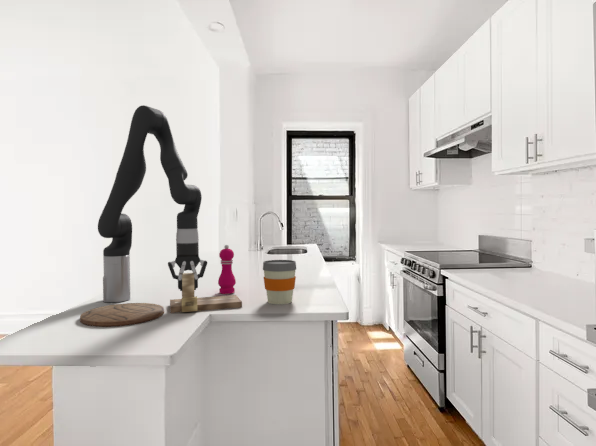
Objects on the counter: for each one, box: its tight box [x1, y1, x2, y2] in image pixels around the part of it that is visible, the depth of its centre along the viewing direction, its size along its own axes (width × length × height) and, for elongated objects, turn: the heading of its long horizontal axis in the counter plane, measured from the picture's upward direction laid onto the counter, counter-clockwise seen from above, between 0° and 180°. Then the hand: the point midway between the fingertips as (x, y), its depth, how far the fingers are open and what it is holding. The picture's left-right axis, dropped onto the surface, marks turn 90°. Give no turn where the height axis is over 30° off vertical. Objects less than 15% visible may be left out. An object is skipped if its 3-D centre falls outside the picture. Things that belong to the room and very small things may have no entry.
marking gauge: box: [181, 272, 198, 313], centre depth 143 cm, size 5×13×11 cm, turn 18°
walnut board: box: [169, 294, 243, 314], centre depth 147 cm, size 24×12×2 cm, turn 108°
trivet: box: [79, 302, 165, 328], centre depth 133 cm, size 25×25×2 cm
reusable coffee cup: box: [262, 259, 297, 305], centre depth 153 cm, size 12×13×15 cm
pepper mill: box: [217, 244, 237, 295], centre depth 171 cm, size 7×7×20 cm
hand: (188, 289), depth 145 cm, fingers closed on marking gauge, 4 cm apart
